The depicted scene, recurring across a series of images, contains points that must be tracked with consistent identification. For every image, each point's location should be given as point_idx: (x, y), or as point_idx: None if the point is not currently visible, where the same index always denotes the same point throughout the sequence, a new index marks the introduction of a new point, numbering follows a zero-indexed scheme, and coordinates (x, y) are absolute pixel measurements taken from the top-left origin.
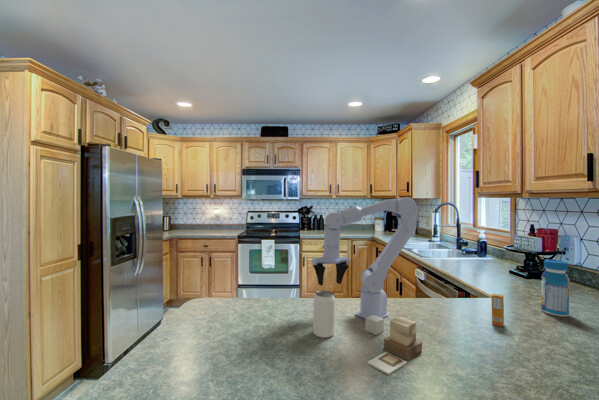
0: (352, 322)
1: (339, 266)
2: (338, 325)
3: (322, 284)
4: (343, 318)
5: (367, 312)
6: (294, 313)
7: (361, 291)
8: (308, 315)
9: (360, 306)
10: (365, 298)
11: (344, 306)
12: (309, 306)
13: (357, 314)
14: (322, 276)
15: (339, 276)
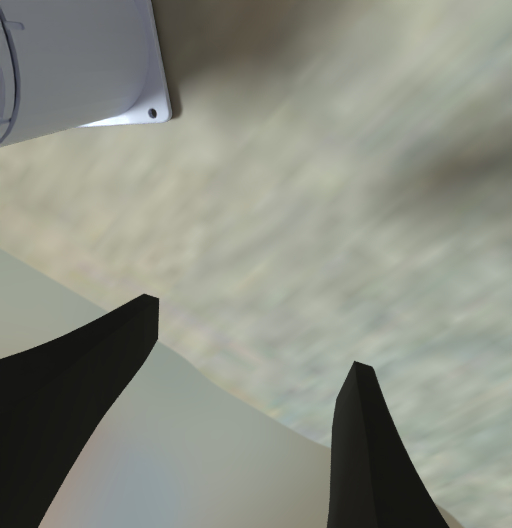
0: (270, 25)
1: (16, 483)
2: (396, 40)
3: (359, 367)
4: (274, 117)
5: (116, 4)
6: (458, 330)
7: (24, 96)
8: (418, 271)
9: (114, 97)
10: (50, 19)
11: (151, 240)
12: (314, 341)
13: (166, 93)
14: (384, 451)
15: (112, 358)
